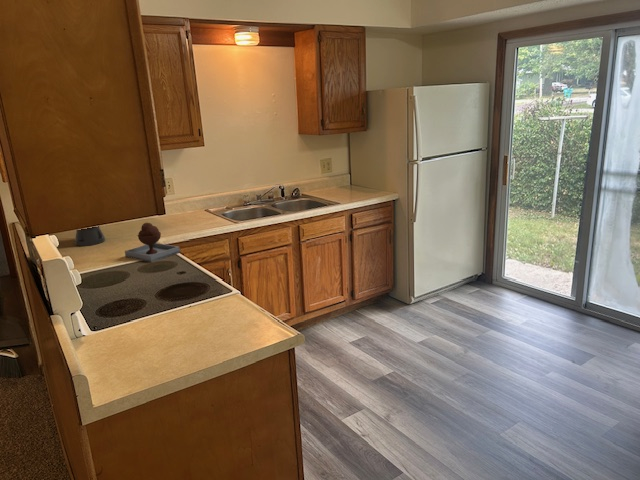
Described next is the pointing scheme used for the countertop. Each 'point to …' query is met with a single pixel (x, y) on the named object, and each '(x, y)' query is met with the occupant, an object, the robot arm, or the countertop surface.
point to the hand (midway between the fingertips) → (129, 193)
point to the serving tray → (161, 253)
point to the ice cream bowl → (149, 236)
